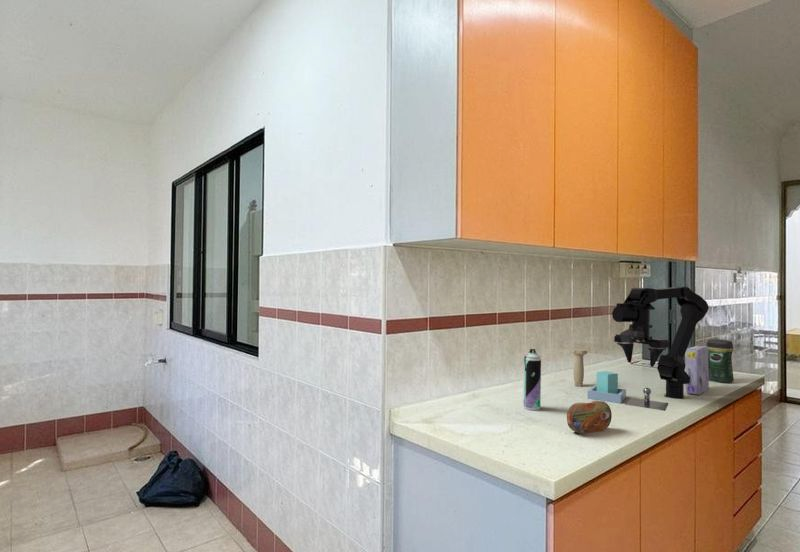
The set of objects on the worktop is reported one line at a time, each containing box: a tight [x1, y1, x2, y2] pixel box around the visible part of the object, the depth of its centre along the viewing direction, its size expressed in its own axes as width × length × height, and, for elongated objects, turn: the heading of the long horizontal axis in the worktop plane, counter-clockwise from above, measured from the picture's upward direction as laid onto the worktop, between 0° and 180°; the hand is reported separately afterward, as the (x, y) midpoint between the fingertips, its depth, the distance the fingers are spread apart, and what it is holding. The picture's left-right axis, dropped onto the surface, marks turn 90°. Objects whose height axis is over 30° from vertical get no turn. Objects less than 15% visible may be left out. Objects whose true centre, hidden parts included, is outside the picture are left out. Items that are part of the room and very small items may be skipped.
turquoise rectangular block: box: [596, 370, 619, 394], centre depth 166 cm, size 5×5×9 cm
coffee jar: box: [706, 338, 734, 384], centre depth 203 cm, size 10×8×19 cm
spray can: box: [523, 348, 542, 411], centre depth 153 cm, size 6×6×20 cm
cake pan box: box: [684, 345, 710, 396], centre depth 183 cm, size 19×5×18 cm, turn 135°
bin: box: [587, 384, 627, 404], centre depth 166 cm, size 11×11×4 cm
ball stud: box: [625, 387, 669, 412], centre depth 159 cm, size 12×12×6 cm
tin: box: [566, 400, 613, 435], centre depth 130 cm, size 15×3×8 cm, turn 114°
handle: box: [570, 347, 588, 387], centre depth 189 cm, size 5×6×15 cm
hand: (640, 364), depth 167 cm, fingers open, 9 cm apart
